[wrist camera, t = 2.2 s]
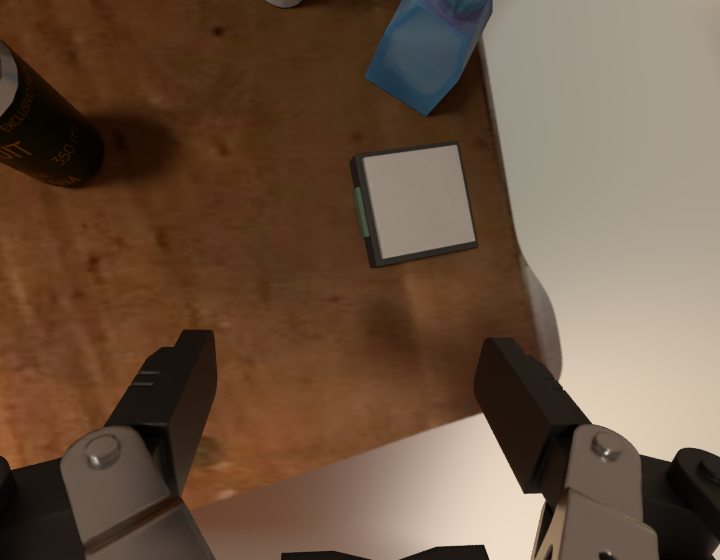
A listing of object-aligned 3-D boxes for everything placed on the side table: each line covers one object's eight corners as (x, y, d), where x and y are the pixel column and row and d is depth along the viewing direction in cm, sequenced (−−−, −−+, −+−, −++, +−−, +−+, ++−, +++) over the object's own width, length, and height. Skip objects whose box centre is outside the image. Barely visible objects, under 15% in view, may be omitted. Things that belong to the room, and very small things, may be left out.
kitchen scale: (345, 163, 34) (351, 152, 31) (446, 149, 36) (461, 137, 33) (366, 268, 34) (374, 267, 31) (466, 249, 36) (482, 245, 33)
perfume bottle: (364, 77, 34) (413, -33, 22) (396, 18, 35) (459, -118, 23) (425, 116, 35) (503, 31, 24) (455, 58, 36) (544, -53, 24)
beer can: (30, 108, 29) (-135, -15, 17) (113, 123, 30) (12, 16, 18) (19, 183, 29) (-155, 109, 17) (103, 194, 30) (-5, 133, 18)
